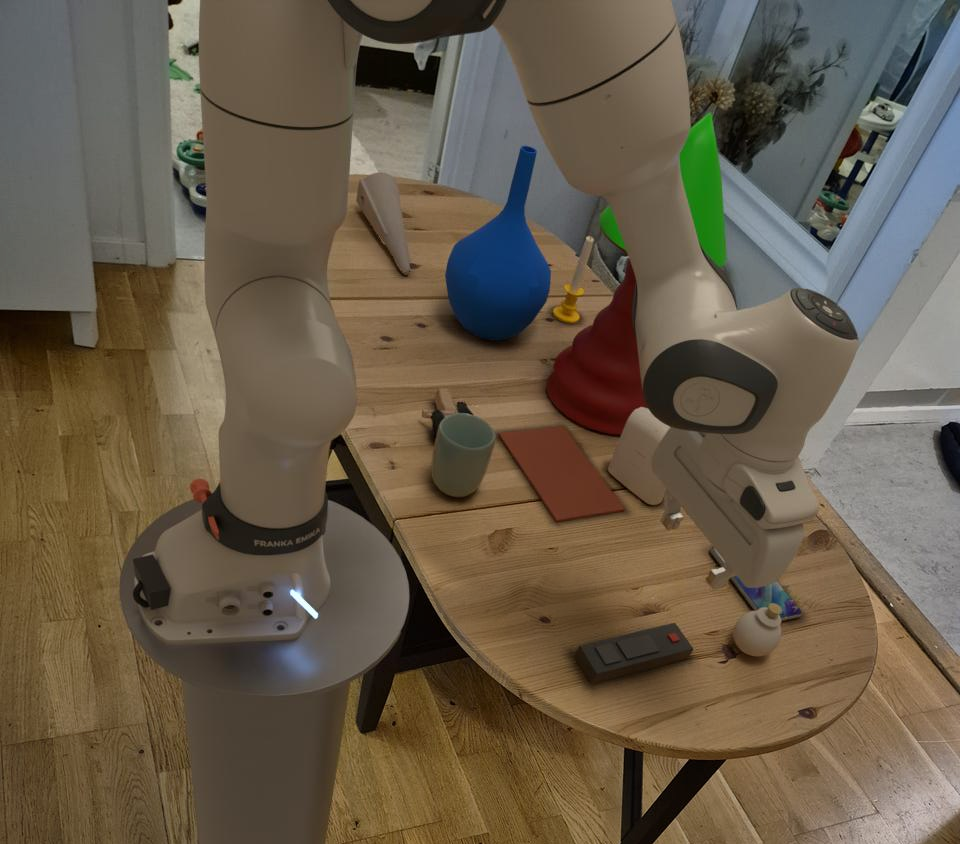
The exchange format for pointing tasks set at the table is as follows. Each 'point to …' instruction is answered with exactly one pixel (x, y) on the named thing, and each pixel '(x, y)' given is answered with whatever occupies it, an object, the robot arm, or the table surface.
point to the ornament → (759, 630)
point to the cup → (461, 453)
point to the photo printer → (639, 456)
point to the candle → (574, 287)
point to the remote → (632, 653)
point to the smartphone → (764, 594)
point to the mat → (560, 473)
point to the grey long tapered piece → (385, 214)
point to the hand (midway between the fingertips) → (690, 554)
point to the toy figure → (444, 408)
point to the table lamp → (611, 339)
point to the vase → (500, 267)
